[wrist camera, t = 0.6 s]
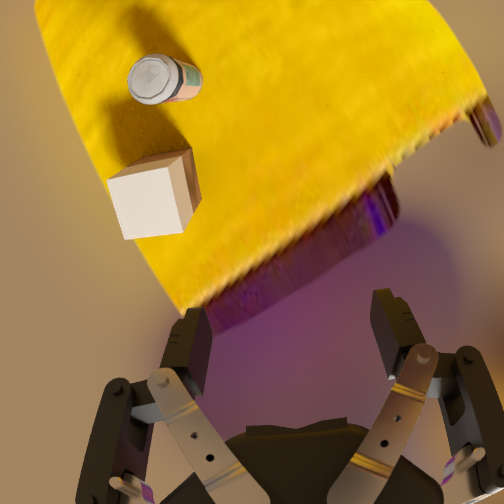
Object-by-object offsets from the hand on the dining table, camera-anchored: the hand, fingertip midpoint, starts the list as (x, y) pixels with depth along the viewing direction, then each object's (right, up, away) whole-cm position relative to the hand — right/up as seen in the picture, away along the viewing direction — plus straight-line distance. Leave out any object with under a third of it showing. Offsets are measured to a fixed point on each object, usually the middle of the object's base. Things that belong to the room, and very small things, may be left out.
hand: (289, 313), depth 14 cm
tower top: (-12, +10, +19) cm, 25 cm away
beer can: (-10, +23, +17) cm, 31 cm away
